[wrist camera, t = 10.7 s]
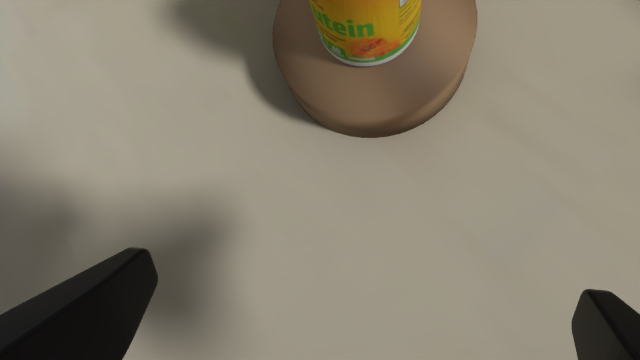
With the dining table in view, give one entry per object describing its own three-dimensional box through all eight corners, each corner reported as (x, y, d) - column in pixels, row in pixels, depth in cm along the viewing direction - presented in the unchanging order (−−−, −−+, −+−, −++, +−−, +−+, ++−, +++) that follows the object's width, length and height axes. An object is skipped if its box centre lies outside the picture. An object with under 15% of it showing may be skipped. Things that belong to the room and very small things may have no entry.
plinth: (323, 167, 24) (313, 150, 21) (263, 22, 27) (247, -9, 24) (503, 89, 23) (518, 61, 20) (418, -50, 26) (420, -91, 23)
